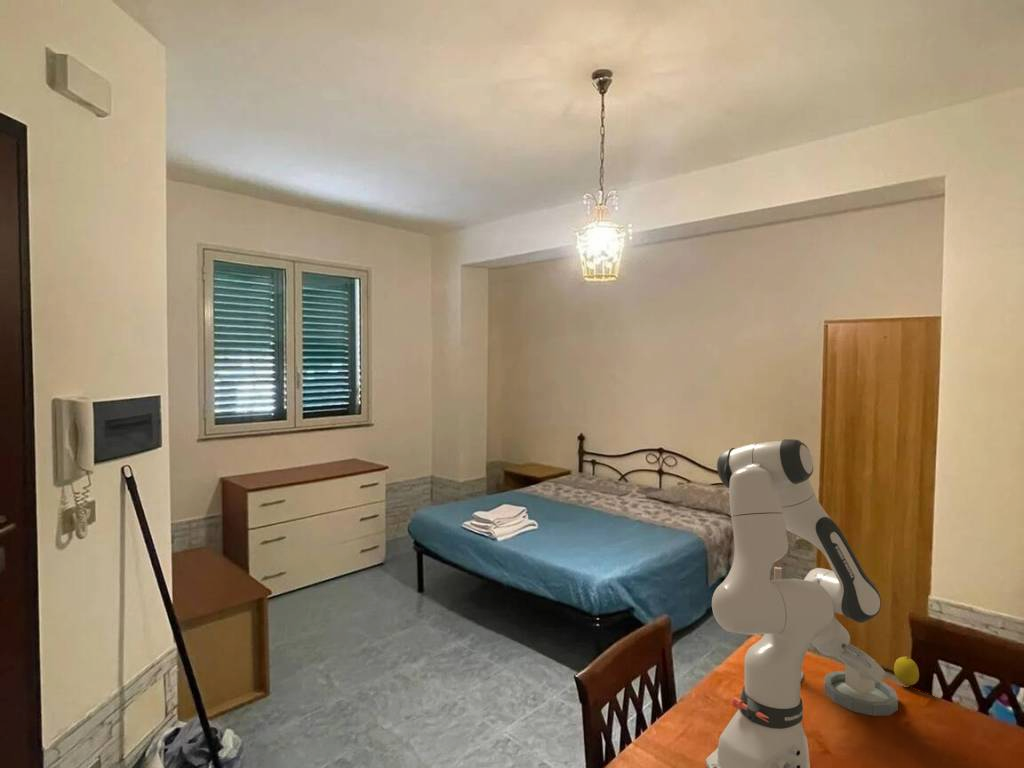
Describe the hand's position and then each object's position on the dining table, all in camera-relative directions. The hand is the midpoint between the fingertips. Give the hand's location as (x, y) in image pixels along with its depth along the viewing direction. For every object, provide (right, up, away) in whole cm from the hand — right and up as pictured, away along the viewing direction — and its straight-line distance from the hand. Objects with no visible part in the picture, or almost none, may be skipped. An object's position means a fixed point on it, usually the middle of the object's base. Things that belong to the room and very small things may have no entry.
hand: (861, 670), depth 146 cm
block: (-1, -4, 0) cm, 4 cm away
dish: (-1, -7, 0) cm, 7 cm away
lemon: (+15, -7, +5) cm, 17 cm away
